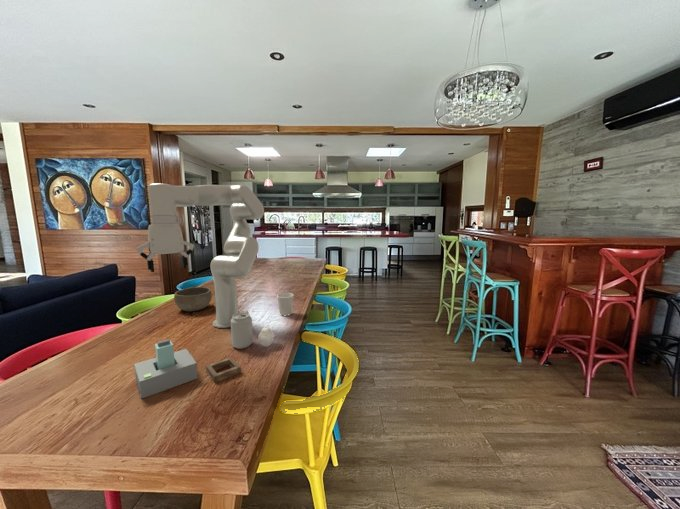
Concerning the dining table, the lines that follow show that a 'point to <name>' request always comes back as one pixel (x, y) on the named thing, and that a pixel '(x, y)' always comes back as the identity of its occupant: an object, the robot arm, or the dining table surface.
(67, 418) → the dining table surface
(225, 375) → the square wooden frame
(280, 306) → the dixie cup
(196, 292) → the bowl
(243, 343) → the can
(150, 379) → the port block
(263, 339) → the white rounded lump
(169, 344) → the plug
